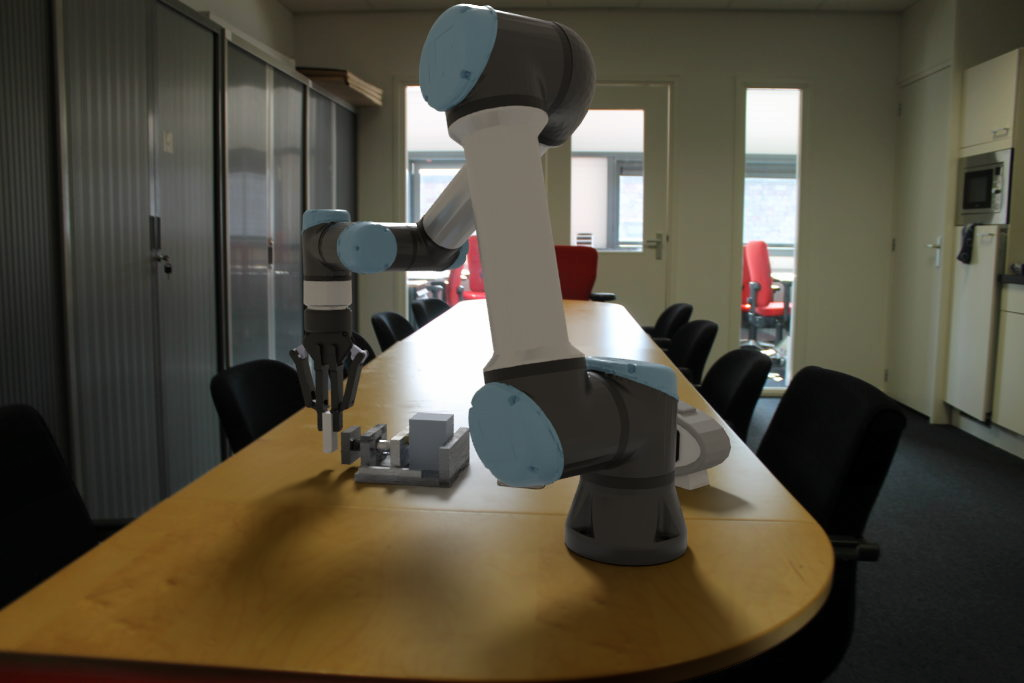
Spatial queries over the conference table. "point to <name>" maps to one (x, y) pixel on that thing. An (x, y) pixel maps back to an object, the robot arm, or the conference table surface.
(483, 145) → the robot arm
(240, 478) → the conference table surface
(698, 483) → the alarm clock
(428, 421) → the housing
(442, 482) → the press bed
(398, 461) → the ram
